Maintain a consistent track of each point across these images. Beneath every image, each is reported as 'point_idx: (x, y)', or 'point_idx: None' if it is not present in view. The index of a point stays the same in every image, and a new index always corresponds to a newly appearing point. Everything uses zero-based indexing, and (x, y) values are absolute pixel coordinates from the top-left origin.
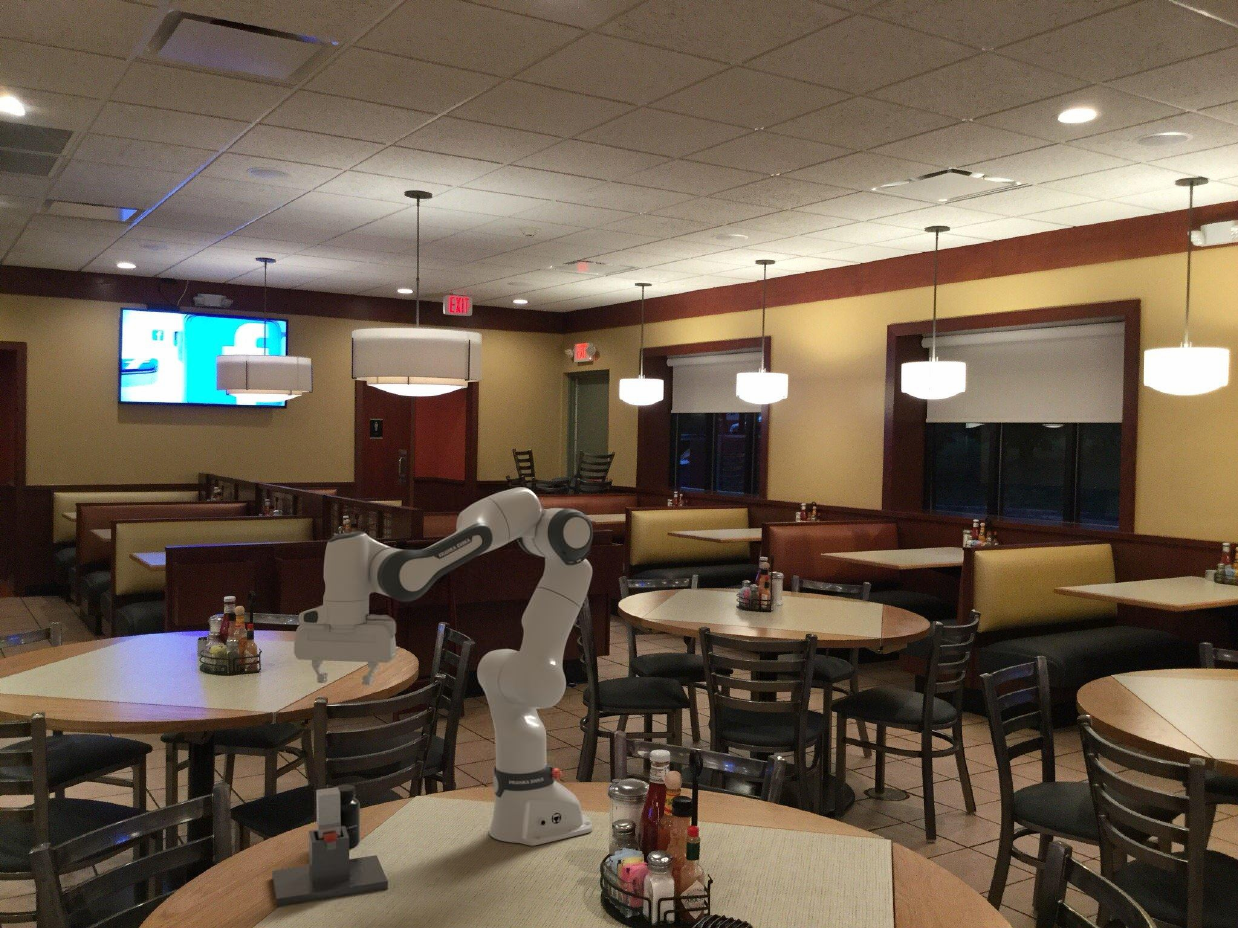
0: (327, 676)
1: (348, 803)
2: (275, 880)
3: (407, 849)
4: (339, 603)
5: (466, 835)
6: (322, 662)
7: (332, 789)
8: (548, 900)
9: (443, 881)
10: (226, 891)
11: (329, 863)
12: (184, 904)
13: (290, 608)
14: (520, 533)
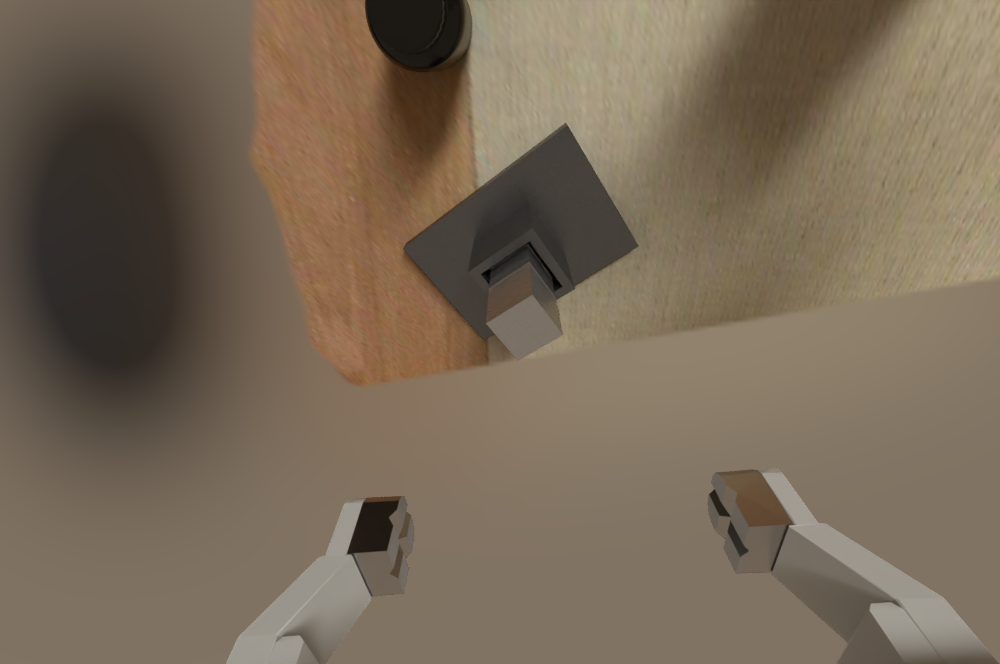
0: (393, 524)
1: (445, 40)
2: (437, 283)
3: (608, 19)
4: None
5: None
6: (302, 655)
7: (527, 313)
8: (944, 226)
9: (734, 188)
10: (369, 303)
11: None
12: (346, 351)
13: None
14: None
